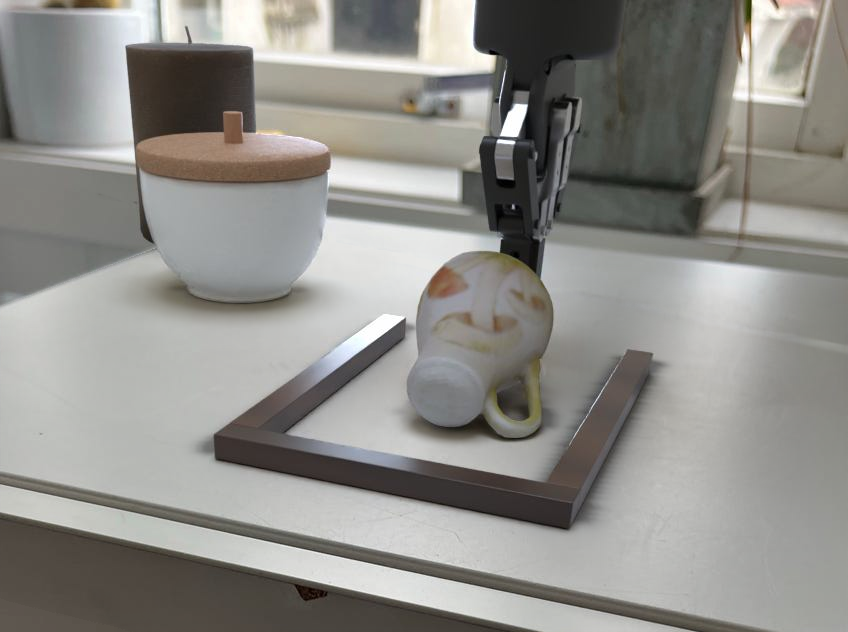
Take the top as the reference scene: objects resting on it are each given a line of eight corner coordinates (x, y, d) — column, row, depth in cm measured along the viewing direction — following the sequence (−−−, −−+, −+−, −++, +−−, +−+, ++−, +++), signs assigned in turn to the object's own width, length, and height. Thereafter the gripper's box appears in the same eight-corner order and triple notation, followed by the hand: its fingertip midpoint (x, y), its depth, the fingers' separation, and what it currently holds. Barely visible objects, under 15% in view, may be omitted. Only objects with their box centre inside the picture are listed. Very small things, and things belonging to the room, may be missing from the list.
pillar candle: (210, 256, 78) (197, 31, 70) (116, 238, 82) (94, 23, 74) (283, 235, 85) (280, 27, 77) (193, 219, 89) (181, 20, 81)
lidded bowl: (362, 302, 69) (367, 121, 63) (187, 324, 63) (173, 128, 57) (282, 260, 78) (279, 98, 72) (123, 277, 72) (105, 103, 66)
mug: (365, 436, 49) (368, 228, 49) (444, 459, 58) (447, 283, 57) (510, 427, 46) (515, 203, 45) (571, 453, 55) (576, 265, 54)
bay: (383, 333, 63) (383, 313, 62) (649, 373, 58) (653, 352, 57) (214, 458, 46) (212, 434, 46) (569, 529, 41) (573, 503, 41)
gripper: (607, -61, 43) (554, 346, 52) (654, -52, 53) (602, 287, 62) (439, -65, 45) (417, 327, 54) (515, -56, 55) (485, 272, 65)
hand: (516, 305), depth 58 cm, fingers closed
